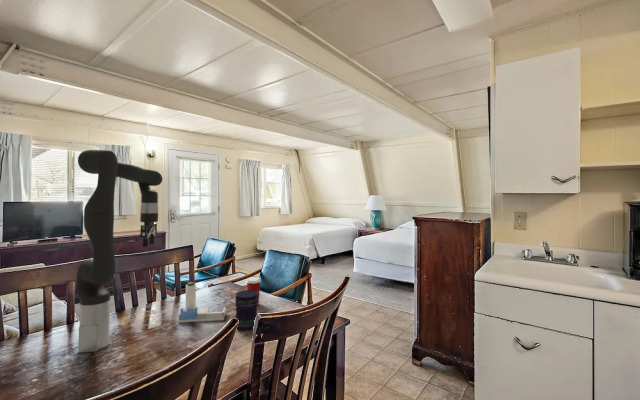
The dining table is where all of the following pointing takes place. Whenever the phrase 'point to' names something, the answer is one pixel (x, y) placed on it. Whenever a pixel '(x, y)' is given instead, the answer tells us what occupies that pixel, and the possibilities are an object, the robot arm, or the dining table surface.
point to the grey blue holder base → (200, 315)
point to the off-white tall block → (190, 296)
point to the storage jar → (246, 309)
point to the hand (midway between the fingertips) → (148, 245)
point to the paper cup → (254, 285)
